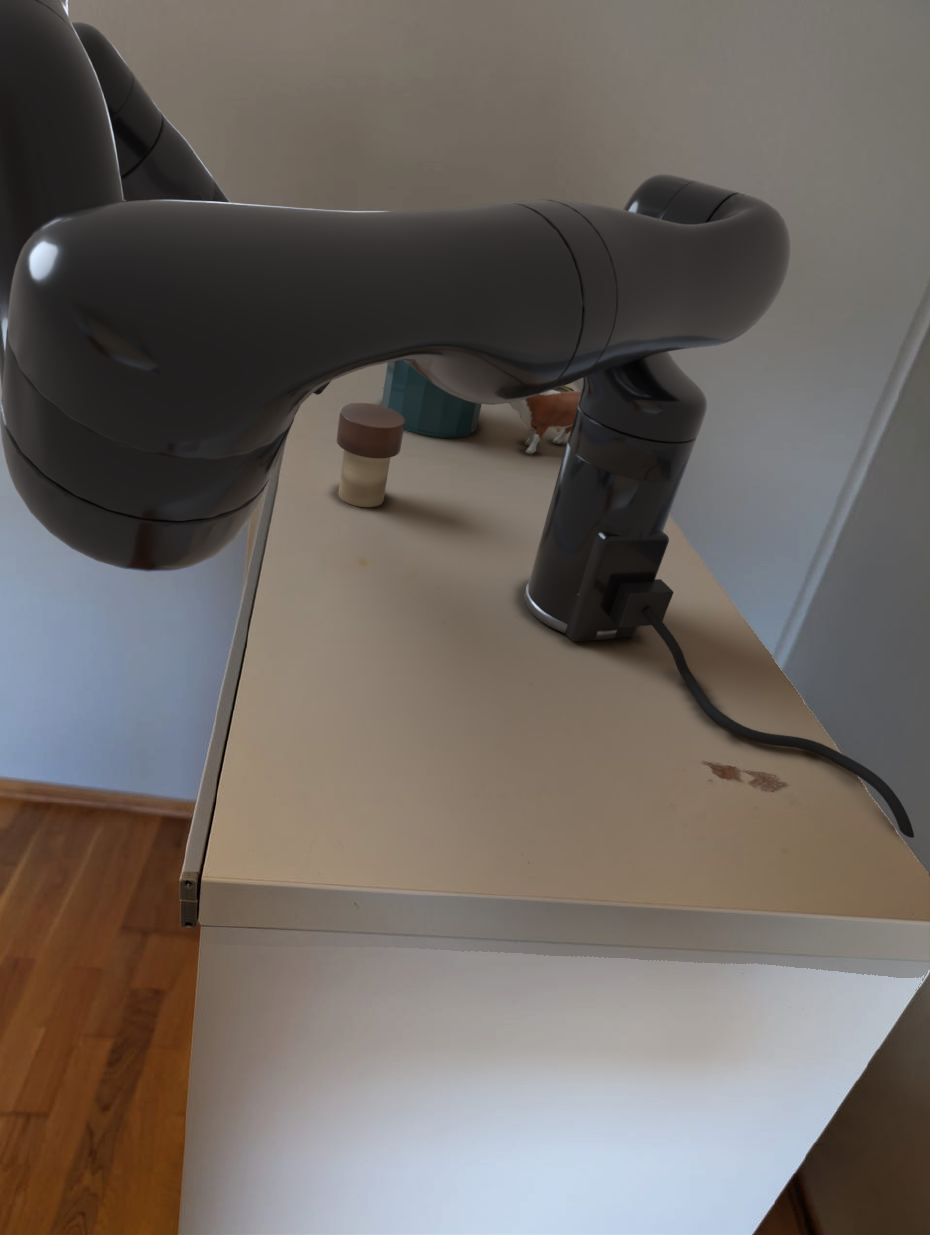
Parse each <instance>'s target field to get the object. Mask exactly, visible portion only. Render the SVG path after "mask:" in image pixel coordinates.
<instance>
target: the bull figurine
mask: <svg viewBox="0 0 930 1235" xmlns="http://www.w3.org/2000/svg"><path fill="white" fill-rule="evenodd" d="M580 394H581V390H580V391H579V390H577V391H576V390H574V391H571V392H561V391H554V390H550V391H547V392H544V393H541V394H538V395H535V396H532V397H530V398H527V399H523V400H519V401H515V402H509V403H508V404H509V405H510V406H511V407H512V409H513V410H515V411H518V414H519V417H520V420H521V421H522V423H523V424H524V426H525V428H526V429H528V432H529V437H528V439H527V440H526V441H525V442H524V445H525V446H527V449H525V451H524V452H525V453H526V454H528V455H534V453H535V452H537V445H538V443H539V442H540V441H541V440H542V438H543V436H544V435H545V432H547V430H548V429H549V428H555V429H556V433H560V432H561V433H560V434H559V435H558V436H557V437H555V438H554V439H553V440H552V441H551V442H552V443H553V444H556V445H560V444H561V442H565V441H566V437H567V436H568V435H569V434H570V431H571V427H572V424H573V420H574V416H575V413H576V409H577V405H578V403H579V398H580Z"/></svg>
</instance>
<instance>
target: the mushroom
mask: <svg viewBox="0 0 930 1235" xmlns="http://www.w3.org/2000/svg"><path fill="white" fill-rule="evenodd" d="M338 418H339V419H338V424H337V426H338V427H337V433H336V444H337V445H338V446H339V447H340V448H341V449H342V450H343V456H342V463H341V470H340V478H339V479H340V480H339V487H338V497H339V498H340V499H341V500H342V501H343V502H345V503H346V504H349V505H351V506H355V507H361V508H375V507H378V506H380V505H382V504H383V503H384V502H385V494H386V488H387V483H388V476H389V469H390V463H391V458H393V457H396V456H398V455H399V454H400V452H401V448H402V442H403V437H404V430H405V429H404V425H405V419H404V417H403V416H402V415H401V414H400V413H398V412H397V411H395V410H392V409H390V408H387V407H384V406H381V405H380V404H375V403H369V402H352V403H348V404H345V405H342V407H341V408H340V410H339V417H338Z"/></svg>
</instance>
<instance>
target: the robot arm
mask: <svg viewBox="0 0 930 1235" xmlns="http://www.w3.org/2000/svg"><path fill="white" fill-rule="evenodd" d="M68 2H69V0H0V386H1V387H0V388H1V400H0V434H1V436H0V437H1V443H2V447H3V448H2V449H3V453H4V458H5V464H6V466H7V470H8V473H9V477H10V479H11V482H12V484H13V486H14V488H15V490H16V492H17V493H18V495H19V497H20V498H21V500H22V502H23V503H24V505H25V506H26V508H27V510H28V511H29V513H31V515H33V517H34V518H35V519H36V520H37V521H38V522H39V523H40V524H41V525H42V526H43V527H44V528H45V530H46V531H48V533H49V534H51V535H52V536H54V537H56V539H58V540H59V541H61V542H62V543H63V544H65V545H66V546H68V547H69V548H70V549H71V550H74V551H75V552H78V553H80V554H82V555H84V556H86V557H88V558H90V559H92V560H94V561H95V562H98V563H99V562H100V563H101V564H102V563H103V564H106V565H109V566H113V567H115V568H119V569H123V570H132V571H140V572H141V571H142V572H146V573H147V572H173V571H178V570H183V569H187V568H190V567H194V566H196V565H198V564H200V563H203V562H205V561H207V560H209V559H212V558H214V557H216V555H218V554H219V553H220V552H222V551H223V550H225V549H226V548H227V547H229V546H230V545H231V544H232V543H233V542H234V541H235V539H236V538H237V537H238V535H239V534H240V533H241V532H242V531H243V530H244V528H245V527H246V526H247V525H248V523H249V521H250V520H251V518H252V516H253V515H254V513H255V511H256V509H257V507H258V505H259V503H260V501H261V499H262V497H263V494H264V493H265V490H266V488H267V486H268V483H269V481H270V479H271V477H272V475H273V472H274V469H275V467H276V465H277V463H278V460H279V457H280V455H281V453H282V451H283V448H284V445H285V443H286V440H287V438H288V435H289V433H290V431H291V429H292V426H293V424H294V422H295V417H296V415H297V413H298V411H299V410H300V408H301V405H303V403H305V401H306V400H307V399H308V398H310V396H311V395H313V394H315V395H317V396H318V395H321V394H322V393H323V392H324V390H325V389H326V388H327V387H328V386H329V385H330V383H331V382H332V381H334V380H337V379H339V378H342V377H344V376H346V375H349V374H351V373H354V372H357V371H360V370H363V369H367V368H370V367H374V366H378V365H379V366H380V365H382V364H388V362H393V361H398V360H403V361H405V362H406V363H407V364H408V365H409V366H411V367H412V368H413V369H414V370H415V371H417V372H418V373H419V374H420V375H421V376H423V377H424V378H425V379H427V380H428V381H430V382H431V383H433V384H434V385H436V386H437V387H439V388H440V389H442V390H444V391H445V392H447V393H449V394H451V395H453V396H455V397H458V398H461V399H463V400H466V401H469V402H473V403H478V404H482V405H492V406H493V405H503V404H509V402H515V401H519V400H523V399H527V398H530V397H532V396H535V395H538V394H541V393H544V392H547V391H550V390H553V389H556V388H559V387H562V386H568V385H571V384H572V383H575V382H576V381H579V380H581V379H582V385H581V386H582V387H581V390H580V391H581V394H580V398H579V403H578V405H577V409H576V413H575V416H574V420H573V424H572V427H571V431H570V432H569V434H568V438H567V440H566V445H565V449H564V453H563V456H562V459H561V464H560V466H559V471H558V474H557V478H556V481H555V485H554V489H553V492H552V495H551V496H552V497H551V500H550V503H549V507H548V510H547V514H546V518H545V521H544V525H543V528H542V529H543V530H542V532H541V536H540V539H539V543H538V547H537V551H536V554H535V559H534V562H533V566H532V570H531V572H530V578H529V580H528V581H527V583H526V587H525V591H524V594H523V596H524V602H525V605H526V607H527V608H528V609H529V611H530V613H532V615H533V616H535V617H536V618H537V619H538V620H539V621H540V622H542V623H543V624H545V625H546V626H548V627H550V628H552V629H554V630H556V631H558V632H561V633H563V634H564V635H566V636H567V637H568V639H569V640H570V641H571V642H586V641H587V642H588V641H599V640H601V641H602V640H610V639H622V638H623V639H624V638H634V637H635V635H636V633H637V629H638V627H646V626H647V627H648V626H652V627H653V628H654V630H655V631H656V632H657V634H658V635H659V637H660V638H661V639H662V641H663V642H664V643H665V645H666V646H667V648H668V650H669V651H670V653H671V655H672V658H673V660H674V662H675V665H676V668H677V670H678V673H679V675H680V676H681V679H682V680H683V681H684V683H685V685H686V686H687V688H688V690H689V691H690V693H691V694H692V696H693V698H694V699H695V700H696V702H697V704H698V705H699V707H700V708H701V709H702V710H703V711H704V713H706V715H707V716H709V718H710V719H711V720H713V721H714V722H715V723H717V724H718V725H720V726H721V727H723V728H724V729H726V730H727V731H729V732H731V733H733V734H734V735H736V736H738V737H741V738H742V739H745V740H748V741H749V742H750V741H751V742H754V743H759V744H762V745H768V746H769V745H770V746H777V747H778V746H779V747H786V748H793V749H799V750H803V751H807V752H811V753H814V754H816V755H819V756H820V757H823V758H824V759H827V760H829V761H831V763H834V764H836V765H838V766H840V767H842V768H844V769H845V770H846V771H849V772H851V773H852V774H853V775H856V776H857V777H858V778H860V779H862V780H863V781H865V782H866V783H867V784H869V785H870V786H871V787H872V788H873V789H874V790H875V791H876V792H877V793H879V795H880V796H881V797H882V798H883V800H884V801H885V802H886V804H887V806H888V807H889V809H890V811H891V812H892V814H893V816H894V818H895V822H896V824H897V825H898V828H899V831H900V833H902V834H903V835H904V836H906V837H908V838H911V839H913V838H915V834H914V830H913V826H912V823H911V820H910V817H909V815H908V813H907V812H906V809H905V807H904V806H903V803H902V802H901V801H900V799H899V797H898V796H897V794H896V793H895V792H894V791H893V789H892V788H891V787H890V785H888V784H887V783H886V782H885V781H884V780H883V779H882V778H881V777H879V775H878V774H876V773H875V772H873V770H870V769H869V768H867V767H866V766H864V765H863V764H861V763H859V762H857V760H854V759H852V758H850V757H848V756H846V755H845V754H843V753H841V752H839V751H837V750H836V749H833V748H831V747H829V746H827V745H825V744H823V743H821V742H817V741H815V740H811V739H807V738H804V737H799V736H792V735H784V734H775V733H769V732H763V731H759V730H756V729H752V728H749V727H747V726H745V725H743V724H741V723H739V722H736V721H735V720H734V719H732V718H730V717H729V716H727V715H726V714H724V713H723V712H722V711H720V710H719V709H718V708H717V707H716V706H715V705H714V704H713V703H712V701H710V700H709V698H708V697H707V695H706V694H705V692H704V690H703V689H702V687H701V686H700V684H699V682H698V681H697V680H696V678H695V676H694V674H693V673H692V671H691V670H690V668H689V666H688V663H687V660H686V658H685V654H684V652H683V650H682V647H681V646H680V645H679V643H678V641H677V639H676V638H675V637H674V635H673V634H672V632H671V631H670V629H669V628H668V627H667V626H666V624H665V623H664V622H663V621H664V619H665V617H666V616H665V615H666V613H667V610H668V608H669V605H670V603H671V600H672V597H673V595H674V590H672V588H671V587H669V585H667V584H666V583H665V582H664V581H663V580H662V579H661V578H657V575H658V573H659V570H660V566H661V564H662V561H663V559H664V556H665V553H666V551H667V548H668V545H669V542H670V537H669V535H667V533H665V531H664V530H665V528H666V524H667V522H668V518H669V515H670V513H671V510H672V507H673V505H674V502H675V500H676V496H677V494H678V491H679V488H680V486H681V482H682V480H683V476H684V475H685V471H686V469H687V466H688V463H689V460H690V458H691V454H692V453H693V449H694V447H695V443H696V441H697V438H698V437H699V435H700V431H701V428H702V425H703V423H704V420H705V417H706V414H707V413H706V412H707V409H708V402H707V398H706V396H705V393H704V392H703V390H702V389H701V387H700V386H698V385H697V383H696V382H695V381H693V379H691V378H690V377H689V376H688V375H687V373H685V372H684V371H683V370H682V368H680V366H679V365H678V364H677V363H676V362H675V360H674V359H673V357H672V355H671V354H670V352H675V351H682V350H689V349H699V348H709V347H715V346H721V345H725V344H728V343H730V342H733V341H735V340H737V339H738V338H740V337H741V336H743V335H744V334H745V333H747V332H748V331H749V330H750V329H752V328H753V327H754V326H755V325H756V324H758V322H759V321H760V320H761V319H762V318H763V317H764V315H765V314H766V313H767V312H768V310H769V309H770V308H771V307H772V305H773V303H775V300H776V299H777V297H778V295H779V293H780V291H781V289H782V287H783V285H784V282H785V280H786V277H787V273H788V270H789V267H790V259H791V239H790V233H789V229H788V227H787V224H786V222H785V219H784V218H783V216H782V215H781V213H780V212H779V211H778V210H777V209H776V208H775V207H773V206H772V205H770V204H769V203H768V202H766V201H765V200H763V199H760V198H758V197H755V196H753V195H749V194H745V193H741V192H739V191H734V190H730V189H727V188H723V187H720V186H716V185H712V184H709V183H704V182H702V181H698V180H694V179H690V178H685V177H682V176H679V175H673V174H666V173H660V174H656V175H652V176H650V177H648V178H647V179H645V180H644V181H643V182H641V183H640V184H639V186H637V188H636V189H635V190H634V191H633V192H632V193H631V195H630V197H629V198H628V200H627V202H626V203H625V205H624V207H623V208H622V209H621V208H616V207H611V206H607V205H599V204H594V203H588V202H581V201H571V200H565V199H553V198H552V199H551V198H547V199H546V198H545V199H544V198H543V199H528V200H527V199H526V200H512V201H497V202H490V203H489V202H488V203H481V204H476V205H470V206H463V207H462V206H461V207H449V208H431V209H430V208H429V209H409V210H362V211H361V210H357V211H356V210H333V209H331V210H330V209H319V208H318V209H317V208H304V207H302V208H301V207H289V206H276V205H263V204H252V203H251V204H249V203H237V202H231V201H230V199H229V198H228V197H227V195H226V194H225V192H224V191H223V189H222V188H221V187H220V185H219V184H218V183H217V181H216V179H215V178H214V177H213V175H212V174H211V172H210V171H209V170H208V169H207V167H206V166H205V164H204V163H203V162H202V160H201V159H200V157H199V156H198V154H197V153H196V151H195V150H194V149H193V147H192V146H191V145H190V143H189V142H188V140H187V139H186V138H185V137H184V136H183V135H182V134H181V133H180V131H179V130H178V129H177V128H176V127H175V126H174V125H173V124H172V123H171V122H170V121H169V120H168V119H167V117H166V116H165V115H164V113H163V112H162V111H161V110H160V109H159V108H158V105H156V102H154V100H153V99H152V98H151V96H150V95H149V93H148V92H147V90H146V89H145V88H144V86H143V85H142V83H141V82H140V81H139V79H138V77H137V76H136V75H135V74H134V72H133V71H132V70H131V68H130V67H129V66H128V64H127V62H126V61H125V60H124V58H123V57H122V55H121V54H120V53H119V51H118V49H116V47H115V46H114V45H113V43H112V42H111V41H110V40H109V39H108V38H107V37H106V36H105V34H103V32H101V31H100V30H99V29H98V28H96V27H95V26H94V25H91V24H89V23H86V22H80V21H74V22H71V19H70V17H69V3H68Z"/></svg>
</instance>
